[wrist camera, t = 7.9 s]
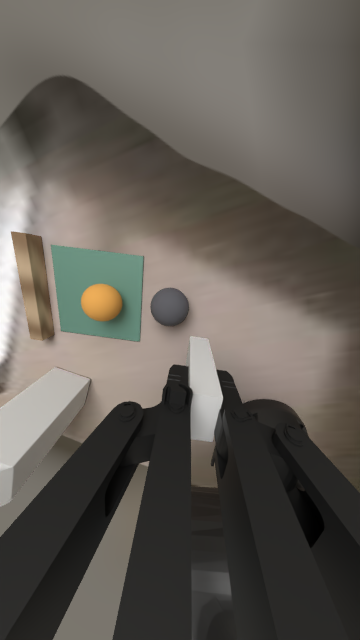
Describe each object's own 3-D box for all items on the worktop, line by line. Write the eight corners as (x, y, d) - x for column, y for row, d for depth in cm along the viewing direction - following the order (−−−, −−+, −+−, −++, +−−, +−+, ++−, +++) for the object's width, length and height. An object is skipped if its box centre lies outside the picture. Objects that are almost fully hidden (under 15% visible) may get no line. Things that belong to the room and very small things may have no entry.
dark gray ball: (157, 333, 21) (142, 317, 26) (191, 331, 24) (173, 317, 29) (164, 292, 19) (147, 281, 24) (200, 295, 22) (179, 285, 27)
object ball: (111, 329, 23) (74, 324, 23) (128, 316, 28) (98, 312, 28) (108, 289, 21) (68, 284, 21) (127, 283, 26) (94, 279, 26)
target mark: (139, 340, 29) (139, 341, 29) (61, 330, 29) (61, 330, 29) (143, 256, 25) (143, 256, 24) (51, 244, 25) (50, 244, 25)
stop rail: (54, 334, 30) (42, 340, 27) (43, 333, 30) (30, 338, 27) (41, 236, 25) (25, 233, 22) (28, 234, 25) (10, 231, 22)
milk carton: (91, 378, 32) (-34, 520, 14) (84, 404, 34) (-31, 556, 16) (55, 365, 32) (-120, 496, 14) (51, 393, 34) (-105, 536, 16)
